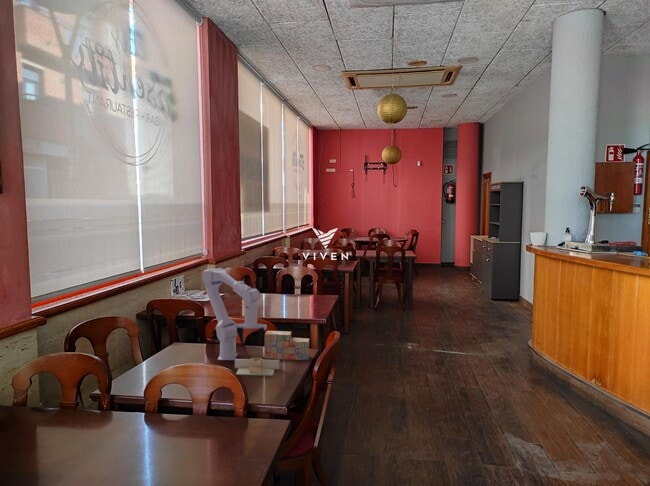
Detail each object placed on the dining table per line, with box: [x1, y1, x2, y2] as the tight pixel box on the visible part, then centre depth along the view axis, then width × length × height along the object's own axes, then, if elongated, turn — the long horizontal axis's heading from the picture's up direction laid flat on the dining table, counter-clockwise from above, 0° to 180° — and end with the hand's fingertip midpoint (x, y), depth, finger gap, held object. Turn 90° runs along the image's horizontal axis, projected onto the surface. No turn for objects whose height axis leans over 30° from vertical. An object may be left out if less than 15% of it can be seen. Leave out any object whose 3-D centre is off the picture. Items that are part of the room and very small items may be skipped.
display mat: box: [235, 368, 275, 377], centre depth 195 cm, size 7×16×1 cm, turn 91°
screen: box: [234, 358, 280, 370], centre depth 200 cm, size 1×20×4 cm, turn 91°
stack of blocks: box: [263, 330, 310, 361], centre depth 217 cm, size 21×6×12 cm, turn 85°
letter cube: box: [249, 357, 263, 373], centre depth 195 cm, size 5×5×5 cm
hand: (250, 344), depth 205 cm, fingers open, 7 cm apart
